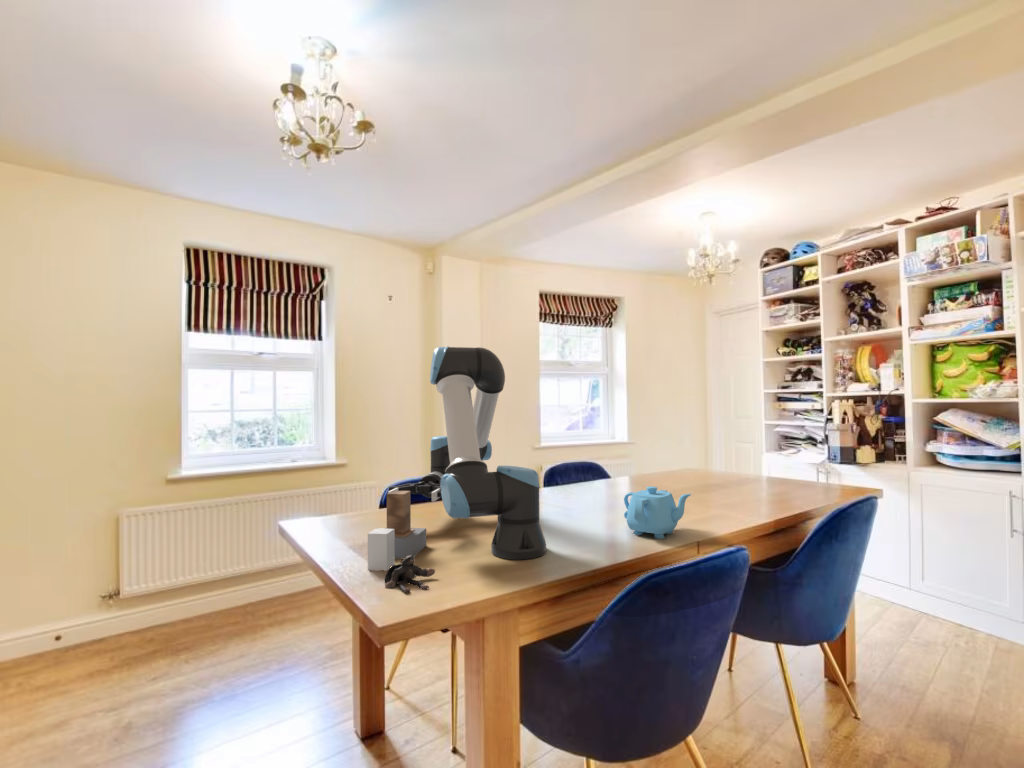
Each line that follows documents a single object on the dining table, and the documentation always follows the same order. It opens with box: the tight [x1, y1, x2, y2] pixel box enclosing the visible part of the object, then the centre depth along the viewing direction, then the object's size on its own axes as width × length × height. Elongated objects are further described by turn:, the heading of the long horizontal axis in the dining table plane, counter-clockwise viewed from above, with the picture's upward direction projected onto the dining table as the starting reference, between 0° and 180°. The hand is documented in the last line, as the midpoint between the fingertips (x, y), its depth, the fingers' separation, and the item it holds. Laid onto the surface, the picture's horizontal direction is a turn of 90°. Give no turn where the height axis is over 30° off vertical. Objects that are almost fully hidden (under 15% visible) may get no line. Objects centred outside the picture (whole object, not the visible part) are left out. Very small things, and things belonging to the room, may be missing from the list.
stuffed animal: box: [384, 555, 436, 594], centre depth 115 cm, size 12×10×12 cm
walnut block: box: [386, 491, 412, 535], centre depth 139 cm, size 5×5×11 cm
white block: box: [367, 527, 396, 572], centre depth 125 cm, size 5×5×9 cm
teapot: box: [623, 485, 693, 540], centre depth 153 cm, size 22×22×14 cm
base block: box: [384, 526, 427, 559], centre depth 138 cm, size 12×12×5 cm
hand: (410, 496), depth 148 cm, fingers open, 13 cm apart
